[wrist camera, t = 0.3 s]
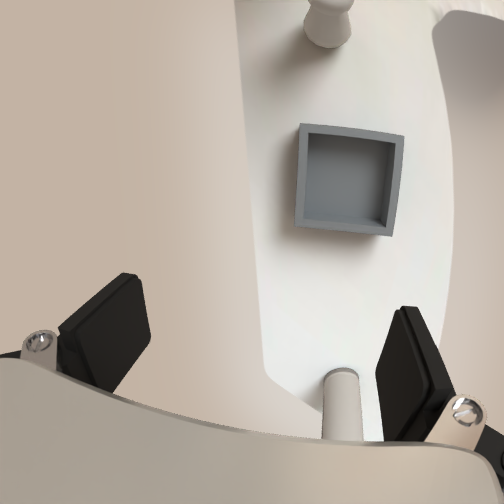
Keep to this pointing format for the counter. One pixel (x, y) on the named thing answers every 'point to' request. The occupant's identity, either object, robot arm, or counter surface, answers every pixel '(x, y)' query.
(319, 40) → the salt shaker
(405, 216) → the counter surface
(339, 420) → the travel mug
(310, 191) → the box
